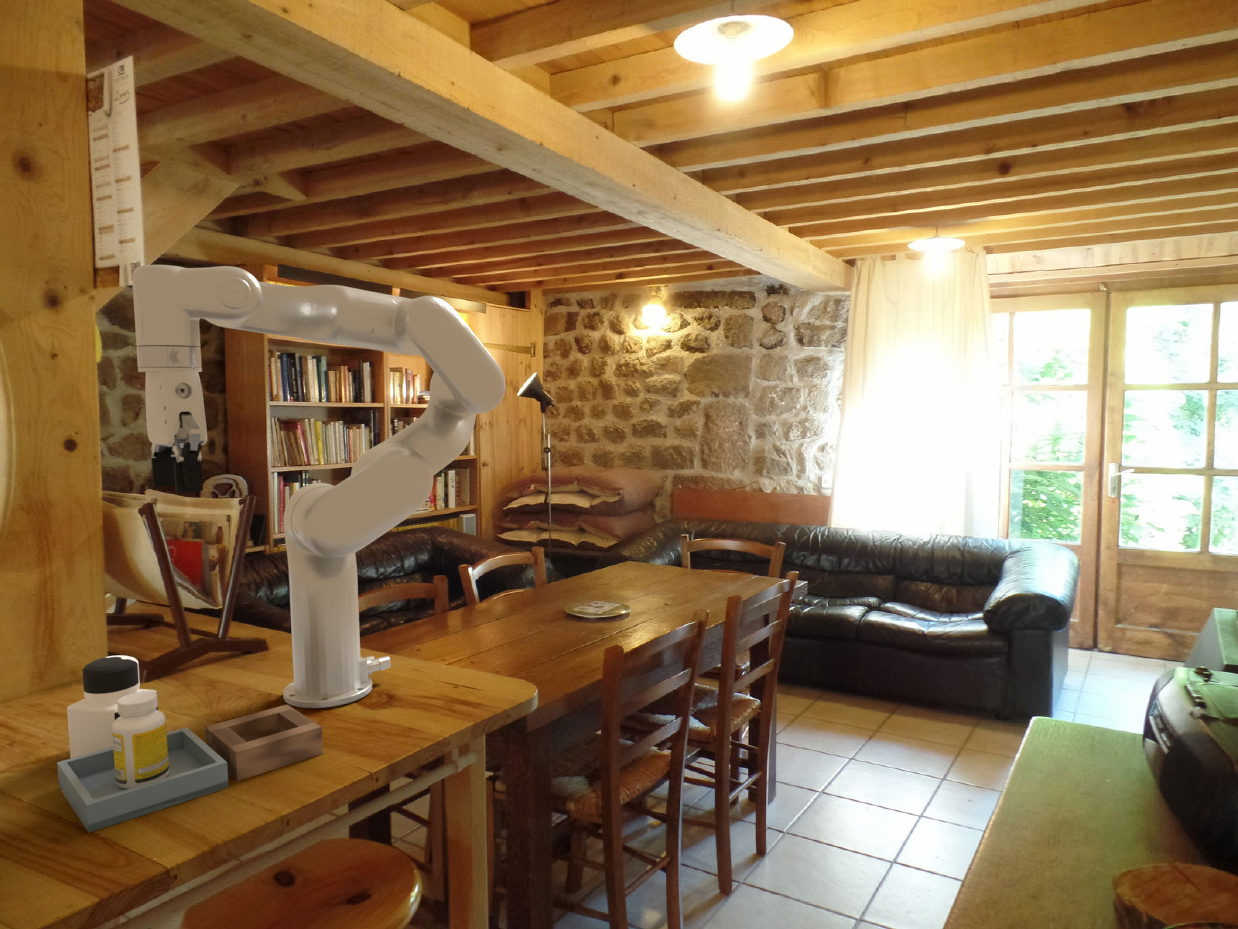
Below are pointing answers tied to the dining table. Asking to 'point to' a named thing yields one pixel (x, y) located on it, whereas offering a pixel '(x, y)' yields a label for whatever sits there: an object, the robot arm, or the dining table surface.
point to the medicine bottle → (101, 703)
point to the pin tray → (108, 804)
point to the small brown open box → (264, 741)
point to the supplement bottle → (139, 741)
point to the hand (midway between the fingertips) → (177, 488)
